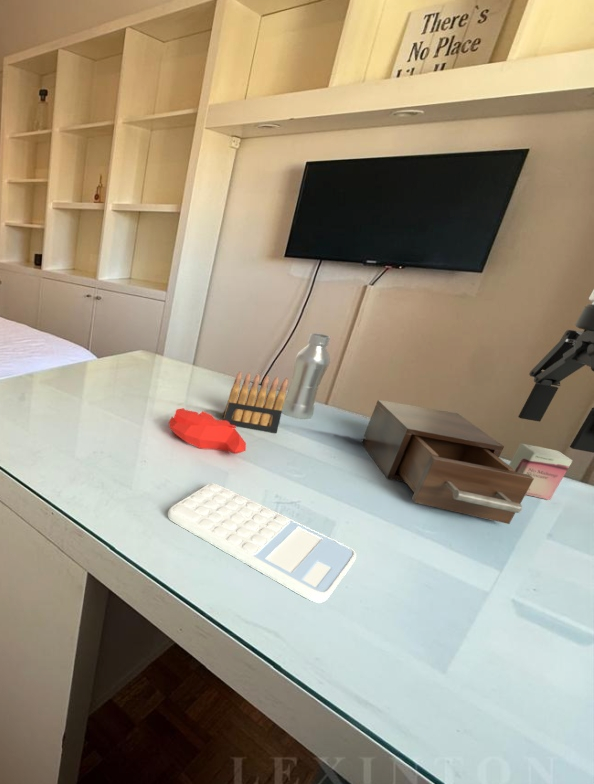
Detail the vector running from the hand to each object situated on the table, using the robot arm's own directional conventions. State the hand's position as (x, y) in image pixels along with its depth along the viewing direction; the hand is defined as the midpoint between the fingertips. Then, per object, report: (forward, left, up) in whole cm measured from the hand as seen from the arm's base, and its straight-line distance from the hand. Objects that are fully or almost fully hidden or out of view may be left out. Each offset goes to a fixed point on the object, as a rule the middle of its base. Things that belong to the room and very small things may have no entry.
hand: (553, 433), depth 76 cm
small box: (0, 0, -11) cm, 11 cm away
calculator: (+46, +39, -11) cm, 61 cm away
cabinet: (+16, 0, -11) cm, 19 cm away
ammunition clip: (+44, -4, -11) cm, 45 cm away
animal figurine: (+52, +10, -11) cm, 54 cm away
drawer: (+16, +13, -10) cm, 23 cm away
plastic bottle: (+34, -14, -11) cm, 38 cm away
